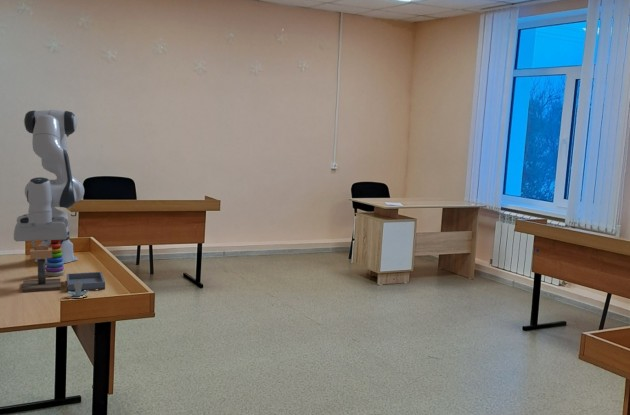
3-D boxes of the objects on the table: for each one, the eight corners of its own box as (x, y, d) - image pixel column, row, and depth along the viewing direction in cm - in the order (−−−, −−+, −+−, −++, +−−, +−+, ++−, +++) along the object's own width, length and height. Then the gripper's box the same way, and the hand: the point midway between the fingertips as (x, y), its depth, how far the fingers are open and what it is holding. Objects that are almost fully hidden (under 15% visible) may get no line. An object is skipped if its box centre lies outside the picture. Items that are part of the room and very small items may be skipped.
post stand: (23, 283, 256) (22, 256, 254) (60, 281, 261) (59, 255, 260) (22, 292, 243) (21, 264, 242) (60, 289, 249) (60, 262, 247)
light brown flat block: (30, 252, 256) (30, 245, 256) (51, 251, 260) (51, 244, 259) (30, 258, 246) (29, 251, 245) (52, 257, 249) (52, 250, 248)
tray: (66, 280, 262) (66, 273, 262) (101, 278, 268) (101, 271, 267) (67, 291, 246) (67, 284, 246) (105, 289, 251) (105, 282, 251)
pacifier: (88, 299, 238) (88, 294, 244) (88, 283, 237) (88, 279, 243) (68, 300, 235) (68, 295, 241) (67, 284, 234) (67, 280, 240)
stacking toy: (57, 277, 267) (56, 234, 264) (40, 276, 268) (39, 233, 266) (68, 273, 275) (67, 231, 272) (52, 272, 276) (51, 230, 274)
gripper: (67, 215, 261) (68, 248, 263) (13, 217, 253) (14, 250, 255) (68, 218, 255) (68, 251, 257) (12, 219, 247) (13, 253, 249)
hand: (41, 250), depth 256 cm, fingers closed on light brown flat block, 2 cm apart
